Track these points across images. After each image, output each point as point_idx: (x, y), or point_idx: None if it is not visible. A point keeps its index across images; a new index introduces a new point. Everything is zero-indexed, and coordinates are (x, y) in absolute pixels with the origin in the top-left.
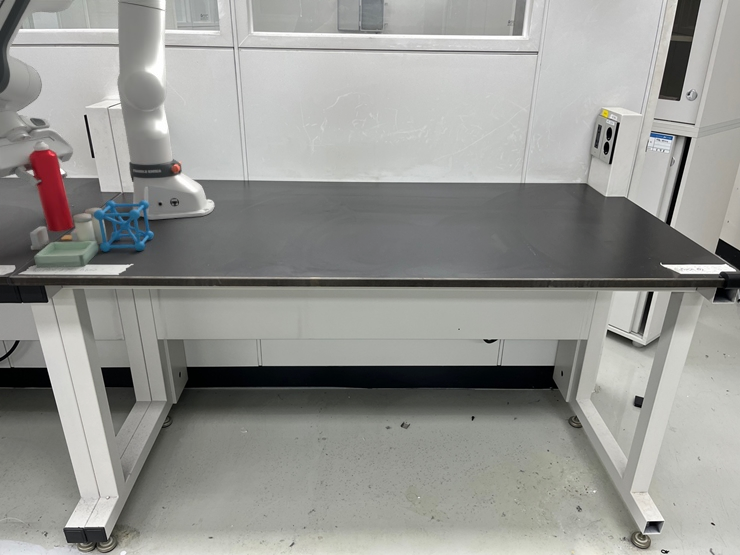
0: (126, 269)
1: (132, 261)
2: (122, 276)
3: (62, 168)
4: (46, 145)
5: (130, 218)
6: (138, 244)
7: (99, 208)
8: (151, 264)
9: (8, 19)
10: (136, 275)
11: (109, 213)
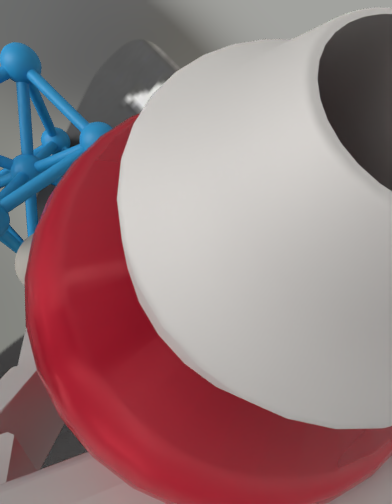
0: (152, 87)
1: (117, 110)
2: (177, 68)
3: (24, 357)
4: (218, 52)
5: (29, 97)
6: (61, 129)
7: (20, 262)
8: (103, 71)
9: None
10: (157, 53)
11: (75, 113)
